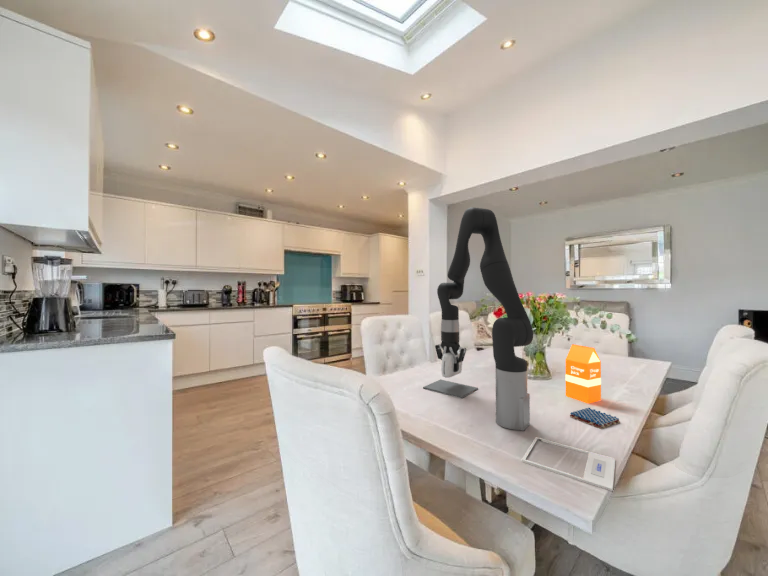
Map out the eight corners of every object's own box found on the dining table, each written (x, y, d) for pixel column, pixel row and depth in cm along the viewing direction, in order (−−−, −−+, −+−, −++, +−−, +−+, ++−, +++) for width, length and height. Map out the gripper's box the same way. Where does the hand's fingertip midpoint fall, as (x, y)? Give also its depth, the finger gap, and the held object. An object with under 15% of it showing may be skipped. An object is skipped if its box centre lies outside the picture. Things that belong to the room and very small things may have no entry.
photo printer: (454, 348, 137) (440, 353, 127) (463, 350, 134) (449, 355, 125) (453, 371, 137) (438, 377, 128) (462, 373, 134) (447, 380, 125)
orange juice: (588, 403, 113) (587, 348, 113) (565, 396, 121) (565, 344, 121) (601, 400, 116) (601, 347, 116) (578, 393, 124) (578, 343, 124)
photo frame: (612, 488, 65) (521, 458, 76) (612, 493, 65) (521, 463, 76) (615, 457, 76) (535, 436, 88) (615, 462, 76) (535, 440, 88)
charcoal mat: (477, 389, 130) (477, 387, 130) (462, 398, 119) (462, 396, 119) (440, 380, 142) (440, 379, 142) (423, 388, 131) (423, 387, 131)
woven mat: (567, 418, 102) (567, 411, 102) (587, 412, 107) (587, 406, 107) (601, 431, 93) (601, 424, 93) (621, 424, 97) (621, 418, 97)
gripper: (470, 330, 128) (470, 371, 128) (440, 327, 138) (440, 366, 138) (461, 332, 123) (461, 375, 123) (430, 329, 132) (431, 369, 132)
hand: (450, 370), depth 130 cm, fingers closed on photo printer, 4 cm apart
